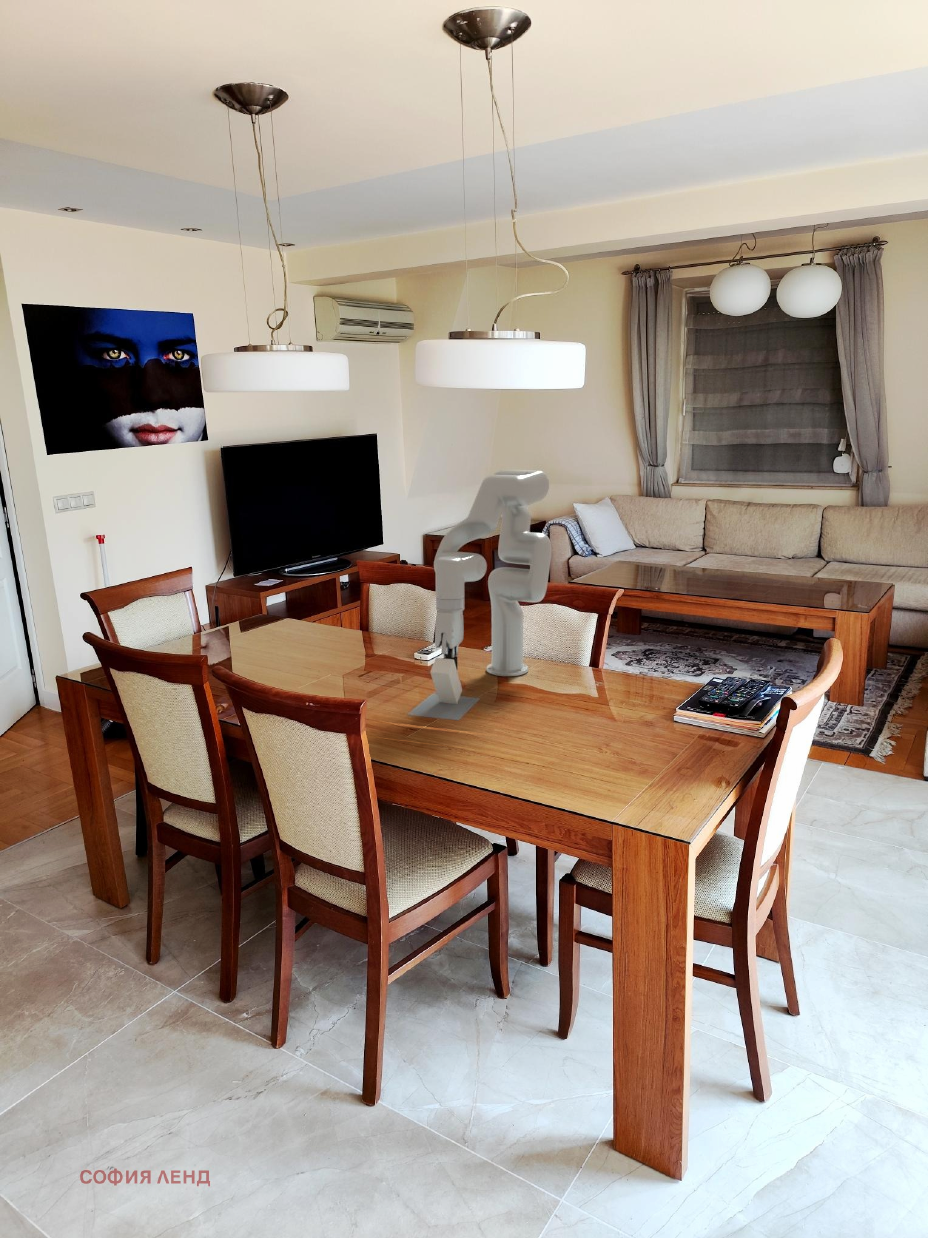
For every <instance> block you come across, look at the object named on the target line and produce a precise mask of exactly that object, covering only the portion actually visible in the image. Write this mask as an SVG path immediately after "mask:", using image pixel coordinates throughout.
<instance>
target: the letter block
mask: <svg viewBox="0 0 928 1238" xmlns="http://www.w3.org/2000/svg"><path fill="white" fill-rule="evenodd" d="M429 672H430V675H431V679H432V682H433V685H434V689H435V692H436V693H435V694H437V696H438V699H439V702H442V703H452V704H457V703H458V700H459V697H460V696H462V695H461V694H462V692H463V688H462V684H461V680H460V677H459V672H458V669H456V665H455V662H454V659H444V657H443V658H442V657H441V658H440V657H435V659H434V661H433V665H432V666H431V669H430V671H429Z"/></svg>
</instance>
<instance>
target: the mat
mask: <svg viewBox="0 0 928 1238" xmlns="http://www.w3.org/2000/svg"><path fill="white" fill-rule="evenodd" d="M480 700H481V697H472V696H464V695H463V696H462V695H460V697H459V700H458V703H457V704H452V703H442V702H439V699H438V696H437V693H435V692H434V693H430V695H429V696H428V697H426V698H425V699H424V700H422V701H421V702H420V703H419V704H418V705H417V706H416V707H414V708H413V709H412V710H410V712H409V713H407V715H408V716H416V717H425V718H435V719H443V720H452V721H460V719H462V718H463V717H464V716H465V714H467V713H468V712H469V711H470V709H472V708H473V707H474V706H475V705H476V704H477V703H478V702H479V701H480Z"/></svg>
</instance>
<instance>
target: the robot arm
mask: <svg viewBox="0 0 928 1238" xmlns="http://www.w3.org/2000/svg"><path fill="white" fill-rule="evenodd" d="M549 489H550V480H549V477H548V475H547V474H546V472H544V471H542V470H535V469H534V470H530V469H529V470H528V469H502V470H498V471H496V472H495V473H494V474H491V475H489V476H487V477H484V478H483V480H482V482H481V484H480V486H479V488H478V491H477V494H476V496H475V498H474V501H473V503H472V506H471V508H470V510H469V513H468V515H467V516H466V518H465V519H463V520H462V521H460V522H459V523H457V524H456V525H454V527H452V528H451V529H450V530H449V531H447V533H446V534H445V535H444V536H443V538H442V539H441V541H440V543H439V546H438V548H437V551H436V554H435V556H434V561H433V569H434V572H435V610H436V618H435V629H434V630H435V631H434V635H435V636H434V646H435V648H437V649H438V648H441V654H442V655H443V659H454V662H455V665H456V669H457V670H458V669H459V668H458V655H459V653H458V652H459V645H460V644H461V643H462V642H463V640H464V636H465V635H464V632H465V630H464V615H463V613H464V610H465V604H466V603H465V584H466V583H468V582H476V581H479V580H481V579H482V578H483V577H484V576H485V575H486V573H487V569H488V568H487V567H488V564H487V561H486V559H485V558H484V556H483V555H481V554H479V553H477V552H476V553H474V552H465V551H464V552H463V551H459V550H460V549H461V548H462V547H463V546H464V545H467V543H469V542H472V541H476V540H478V539H480V538H483V537H486V536H488V535H491V534H492V533H494V532H495V531H496V530H497V528H498V525H499V522H500V520H501V525H500V530H499V531H500V533H499V539H498V551H497V554H498V557H499V559H500V561H502V562H504V563H507V564H516V565H526V566H527V565H528V566H529V569H528V568H519V567H506V566H505V567H503V566H502V567H497V568H495V569H493V570H492V571H491V572H490V574H489V576H488V578H487V579H488V580H487V586H488V593H489V598H490V599H489V600H490V606H491V607H490V609H491V663H489V664H487V665H486V672H487V673H488V674H491V675H493V676H496V677H497V676H498V677H518V676H522V675H524V674H527V673H528V672H529V666H528V665H527V664H526V663H524V612H523V608H522V607H521V605H520V603H519V602H525V603H539V602H541V601H542V600H543V599H544V598H545V597H546V593H547V588H548V581H549V574H550V568H551V561H552V543H551V540H550V538H549V536H547V534H545V533H541V532H535V531H534V532H533V531H532V532H531V522H532V521H531V520H532V516H531V512H530V510H529V507H528V506H531V505H534V504H535V503H538V502H540V501H543V499H545V498H546V496H547V495H548V494H549V493H548V492H549Z"/></svg>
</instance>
